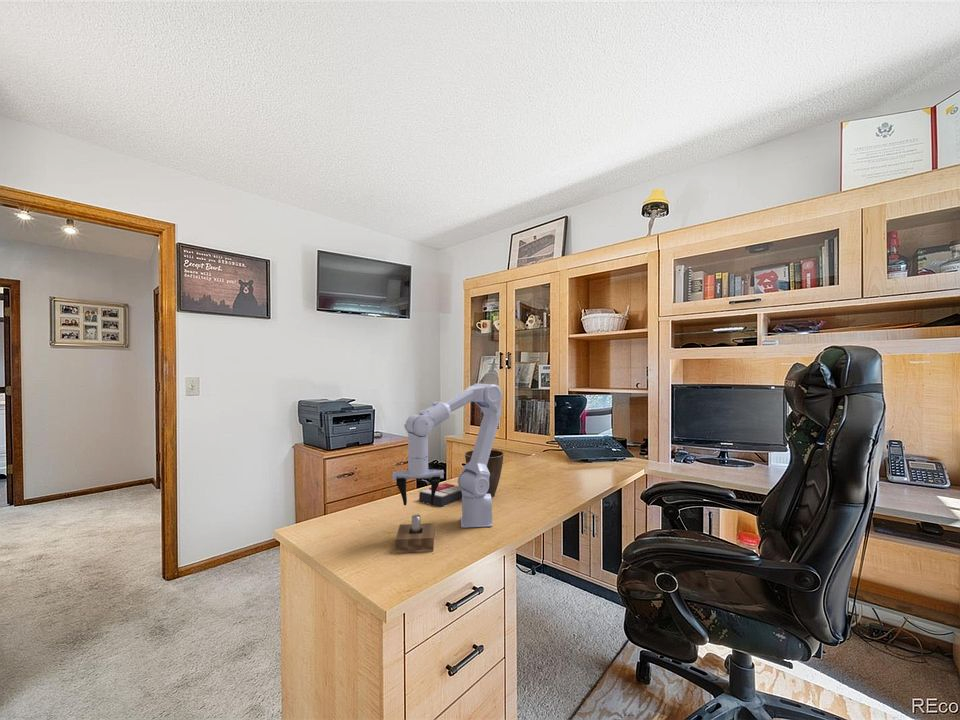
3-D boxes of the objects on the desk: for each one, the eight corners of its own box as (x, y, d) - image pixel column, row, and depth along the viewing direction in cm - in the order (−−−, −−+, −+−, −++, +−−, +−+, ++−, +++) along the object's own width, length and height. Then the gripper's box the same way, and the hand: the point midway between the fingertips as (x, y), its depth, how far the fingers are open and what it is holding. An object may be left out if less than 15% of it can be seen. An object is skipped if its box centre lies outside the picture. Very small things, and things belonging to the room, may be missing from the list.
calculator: (467, 487, 150) (441, 495, 138) (467, 498, 150) (441, 508, 138) (445, 482, 156) (418, 489, 144) (445, 493, 156) (418, 501, 144)
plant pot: (457, 495, 150) (456, 453, 151) (484, 486, 161) (484, 447, 161) (484, 504, 140) (484, 459, 140) (512, 495, 150) (511, 453, 150)
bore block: (434, 535, 115) (434, 523, 115) (433, 551, 105) (433, 538, 105) (399, 536, 114) (399, 524, 114) (395, 552, 104) (395, 539, 104)
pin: (420, 539, 111) (420, 514, 111) (420, 543, 109) (420, 517, 109) (411, 540, 111) (411, 515, 111) (411, 543, 108) (411, 518, 108)
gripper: (443, 452, 118) (443, 497, 118) (394, 454, 117) (394, 499, 117) (443, 458, 111) (443, 506, 111) (391, 459, 110) (391, 508, 110)
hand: (418, 503), depth 113 cm, fingers open, 7 cm apart
